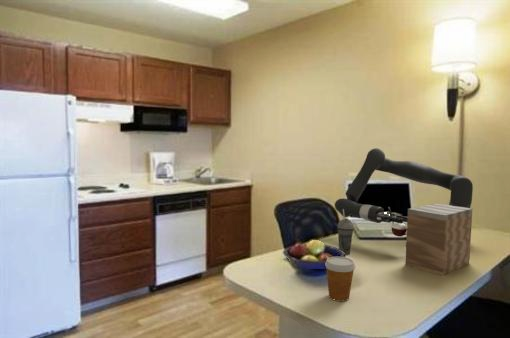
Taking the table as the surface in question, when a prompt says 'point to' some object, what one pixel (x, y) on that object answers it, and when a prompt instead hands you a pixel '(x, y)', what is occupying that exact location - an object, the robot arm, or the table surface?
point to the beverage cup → (345, 235)
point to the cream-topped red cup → (398, 227)
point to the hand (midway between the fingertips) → (405, 220)
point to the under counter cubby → (438, 237)
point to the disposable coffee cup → (339, 277)
